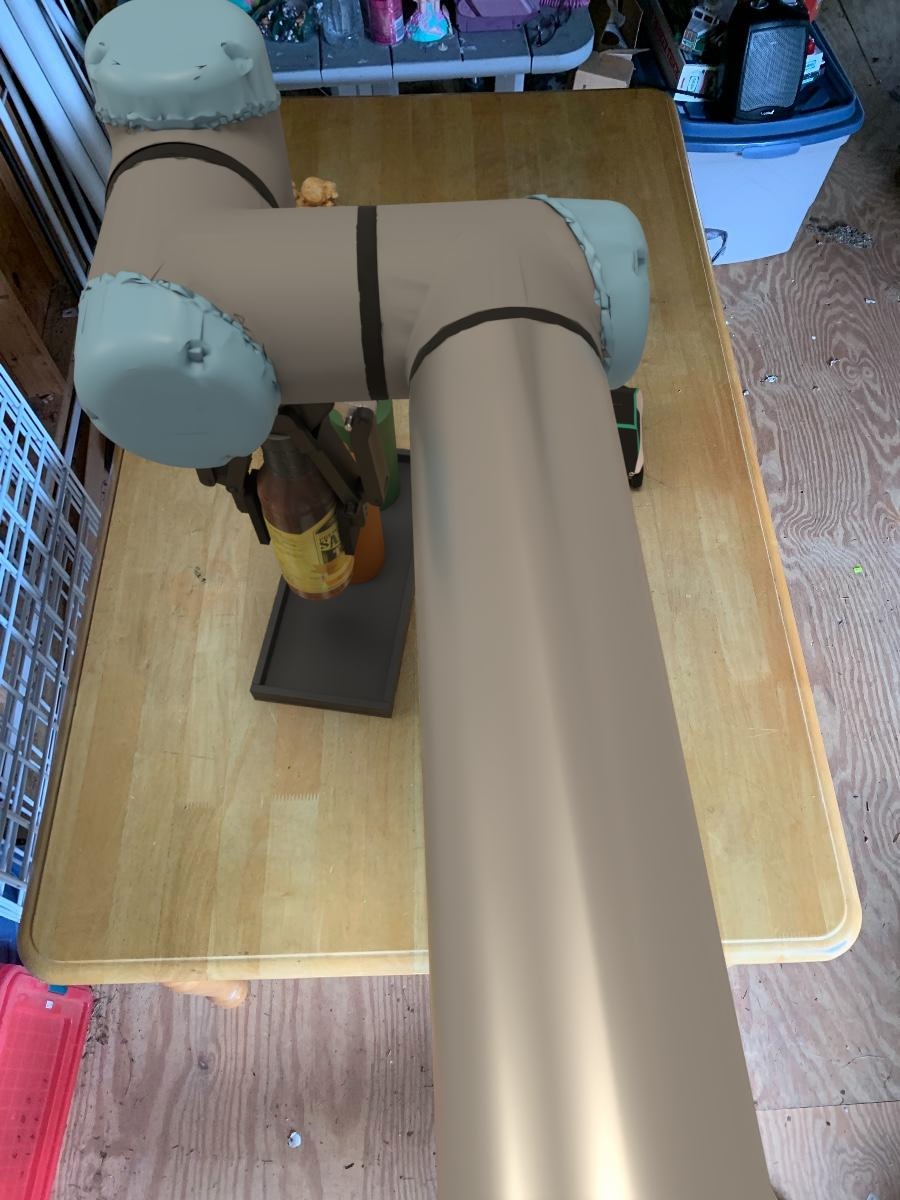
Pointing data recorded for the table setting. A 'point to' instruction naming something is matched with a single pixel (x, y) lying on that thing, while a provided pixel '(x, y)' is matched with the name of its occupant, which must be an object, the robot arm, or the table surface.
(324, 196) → the mineral formation
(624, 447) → the toy car
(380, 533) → the amber bottle
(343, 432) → the green bottle
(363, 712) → the tray
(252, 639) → the table surface
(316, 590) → the sauce bottle
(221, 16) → the robot arm
